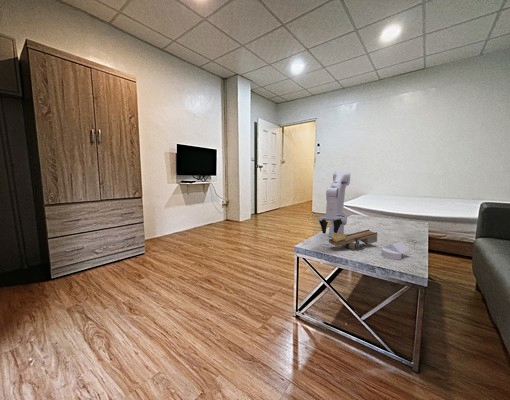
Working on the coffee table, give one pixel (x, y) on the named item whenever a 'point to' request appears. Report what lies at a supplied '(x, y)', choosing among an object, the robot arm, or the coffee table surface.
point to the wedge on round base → (394, 251)
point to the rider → (338, 237)
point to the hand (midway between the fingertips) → (329, 233)
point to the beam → (364, 236)
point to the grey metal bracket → (353, 245)
